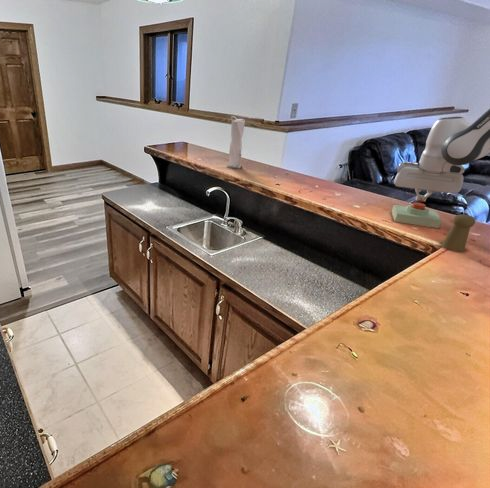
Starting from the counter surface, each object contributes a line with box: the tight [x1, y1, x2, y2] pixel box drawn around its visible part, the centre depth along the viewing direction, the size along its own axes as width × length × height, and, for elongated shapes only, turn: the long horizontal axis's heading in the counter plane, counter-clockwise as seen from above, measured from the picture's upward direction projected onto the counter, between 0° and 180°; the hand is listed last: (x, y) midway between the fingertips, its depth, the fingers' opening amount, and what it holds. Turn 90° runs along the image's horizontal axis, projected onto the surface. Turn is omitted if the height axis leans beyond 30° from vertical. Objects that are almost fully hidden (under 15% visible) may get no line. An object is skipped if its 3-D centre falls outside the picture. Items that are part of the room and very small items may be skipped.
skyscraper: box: [227, 115, 246, 170], centre depth 199 cm, size 8×8×28 cm
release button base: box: [391, 204, 443, 229], centre depth 133 cm, size 14×11×5 cm
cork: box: [441, 213, 476, 252], centre depth 111 cm, size 6×6×11 cm
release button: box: [411, 202, 427, 210], centre depth 132 cm, size 4×4×2 cm
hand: (420, 200), depth 131 cm, fingers closed
